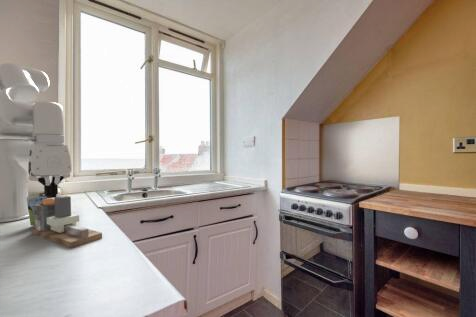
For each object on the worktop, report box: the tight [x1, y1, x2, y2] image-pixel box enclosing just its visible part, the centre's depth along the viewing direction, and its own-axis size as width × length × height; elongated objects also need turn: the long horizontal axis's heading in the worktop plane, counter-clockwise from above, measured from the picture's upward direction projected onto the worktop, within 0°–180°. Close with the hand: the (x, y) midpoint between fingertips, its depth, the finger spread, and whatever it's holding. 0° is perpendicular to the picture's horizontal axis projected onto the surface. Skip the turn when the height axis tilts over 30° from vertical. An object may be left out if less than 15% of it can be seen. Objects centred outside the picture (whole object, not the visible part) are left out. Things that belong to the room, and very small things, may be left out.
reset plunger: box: [43, 197, 55, 206], centre depth 72 cm, size 4×4×2 cm
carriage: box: [47, 195, 80, 233], centre depth 68 cm, size 6×6×10 cm
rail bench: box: [30, 203, 103, 249], centre depth 68 cm, size 25×8×9 cm, turn 62°
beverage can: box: [27, 191, 49, 227], centre depth 78 cm, size 6×7×12 cm
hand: (51, 197), depth 72 cm, fingers closed
